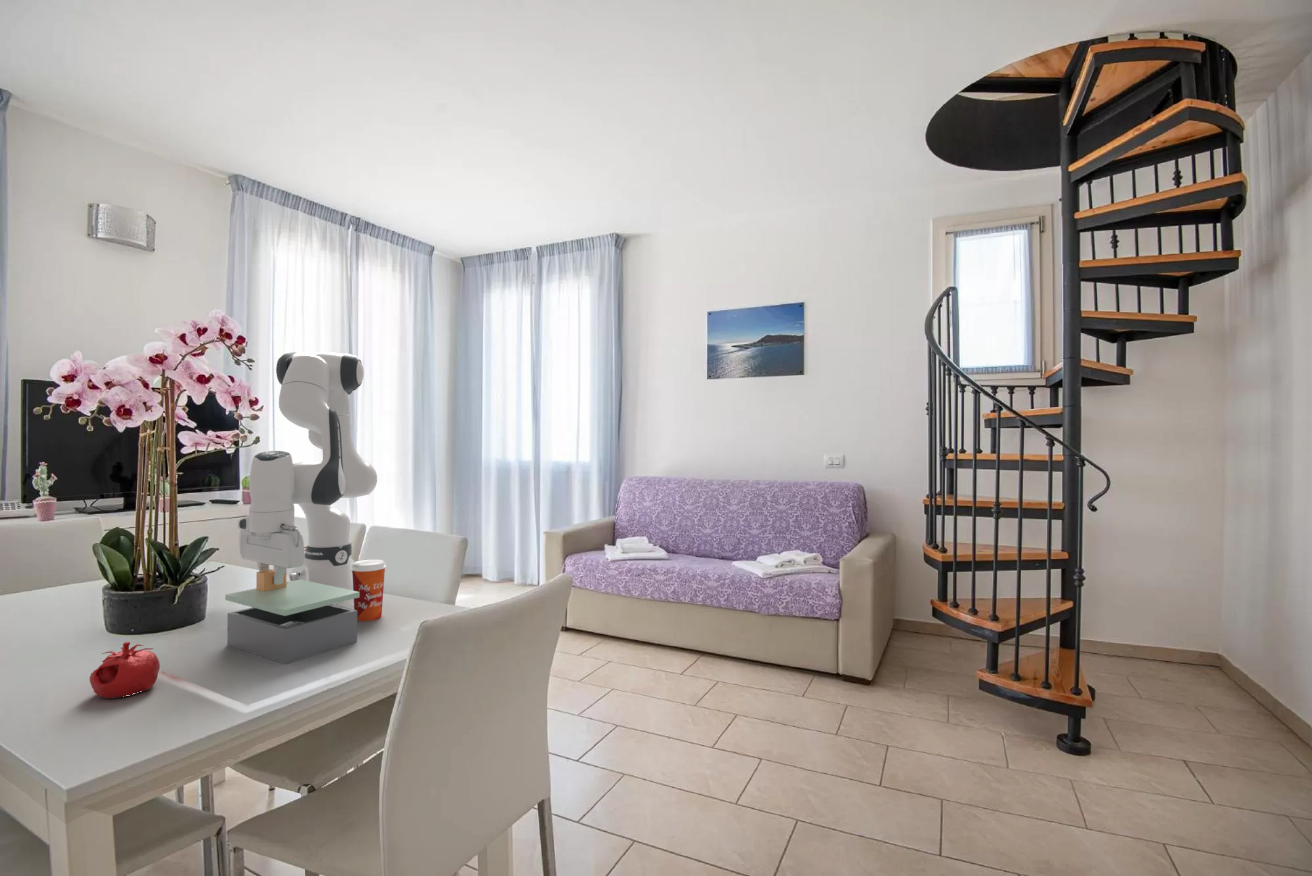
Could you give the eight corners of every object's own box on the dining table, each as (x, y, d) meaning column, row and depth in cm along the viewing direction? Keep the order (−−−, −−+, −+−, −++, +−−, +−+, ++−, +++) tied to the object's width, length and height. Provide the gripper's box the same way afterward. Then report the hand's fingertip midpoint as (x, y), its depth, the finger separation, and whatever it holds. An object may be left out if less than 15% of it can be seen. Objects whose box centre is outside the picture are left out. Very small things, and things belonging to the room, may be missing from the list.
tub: (227, 649, 137) (227, 613, 137) (299, 629, 151) (299, 596, 151) (285, 669, 126) (285, 629, 126) (357, 645, 140) (357, 610, 140)
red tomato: (152, 676, 122) (153, 629, 122) (166, 690, 115) (167, 640, 115) (84, 692, 114) (84, 642, 114) (95, 708, 108) (95, 655, 108)
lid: (225, 600, 137) (225, 576, 137) (300, 584, 151) (300, 562, 151) (284, 616, 126) (284, 590, 125) (359, 597, 140) (359, 574, 140)
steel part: (277, 639, 140) (277, 626, 140) (290, 634, 144) (290, 621, 144) (292, 640, 140) (292, 627, 140) (305, 635, 144) (305, 622, 144)
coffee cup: (360, 628, 152) (361, 567, 152) (344, 621, 157) (344, 562, 157) (392, 620, 159) (393, 561, 159) (376, 614, 164) (376, 557, 164)
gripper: (312, 524, 140) (312, 585, 140) (261, 517, 150) (261, 574, 150) (284, 528, 135) (284, 592, 135) (233, 520, 145) (233, 579, 145)
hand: (271, 582), depth 143 cm, fingers closed on lid, 3 cm apart
